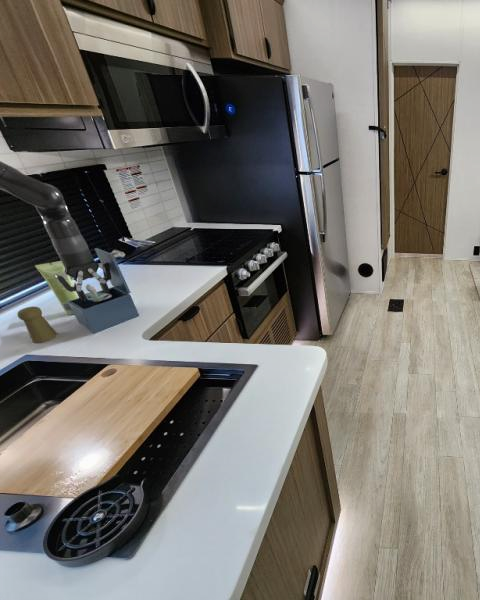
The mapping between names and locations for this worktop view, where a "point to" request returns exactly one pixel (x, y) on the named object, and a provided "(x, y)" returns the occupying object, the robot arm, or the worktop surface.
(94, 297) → the pacifier
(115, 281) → the hinged box lid
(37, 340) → the cork
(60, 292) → the tube
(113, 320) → the blue-grey open box
